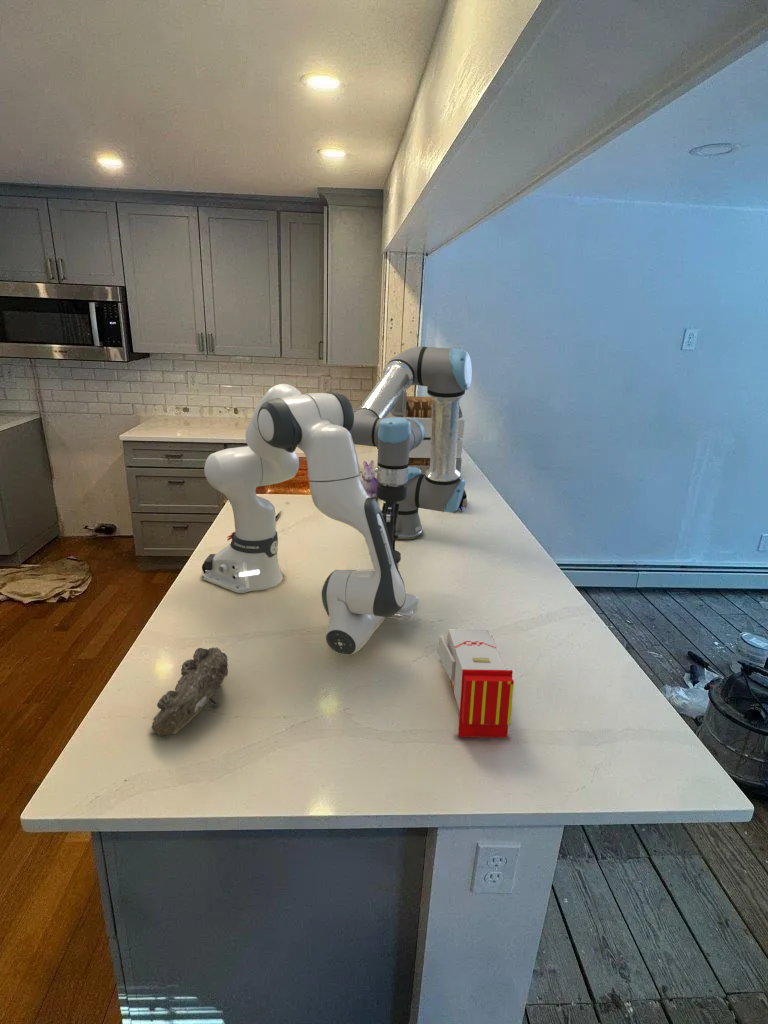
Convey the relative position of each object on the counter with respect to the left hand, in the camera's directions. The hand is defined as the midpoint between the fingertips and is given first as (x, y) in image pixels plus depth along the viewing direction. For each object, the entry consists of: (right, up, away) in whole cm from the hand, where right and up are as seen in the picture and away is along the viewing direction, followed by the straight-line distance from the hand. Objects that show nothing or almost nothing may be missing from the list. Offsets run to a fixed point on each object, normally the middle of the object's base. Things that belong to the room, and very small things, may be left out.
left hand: (387, 586), depth 149 cm
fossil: (-38, -18, -37) cm, 56 cm away
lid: (0, +8, -4) cm, 9 cm away
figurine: (-7, +26, +90) cm, 94 cm away
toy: (+17, -18, -30) cm, 39 cm away
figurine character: (+28, +21, +81) cm, 88 cm away
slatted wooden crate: (+16, +38, +126) cm, 133 cm away
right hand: (0, +5, -3) cm, 6 cm away
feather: (-40, +18, +64) cm, 78 cm away
